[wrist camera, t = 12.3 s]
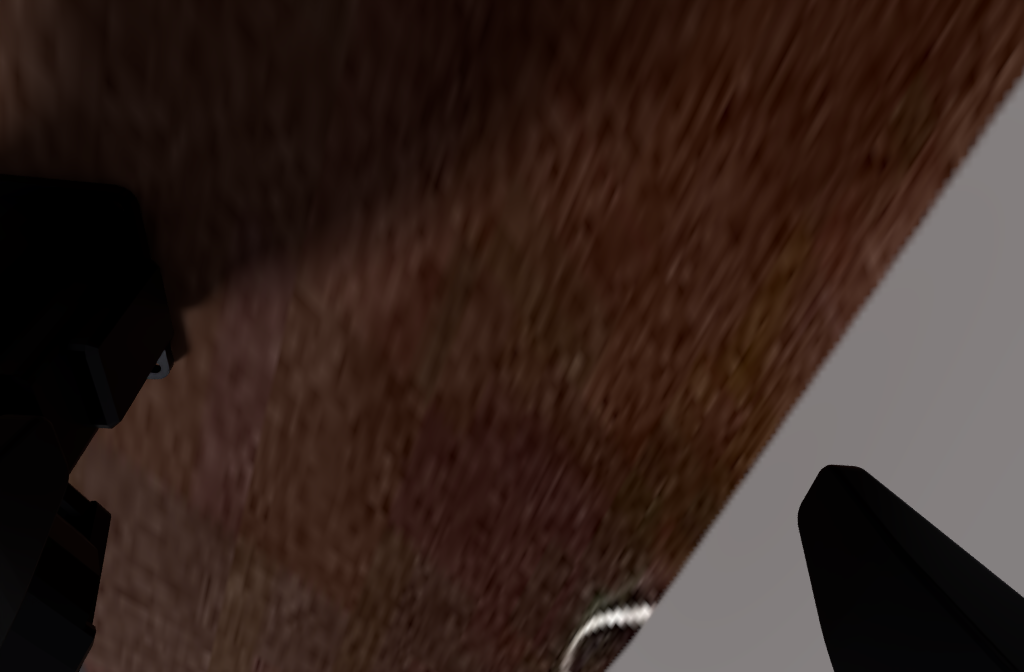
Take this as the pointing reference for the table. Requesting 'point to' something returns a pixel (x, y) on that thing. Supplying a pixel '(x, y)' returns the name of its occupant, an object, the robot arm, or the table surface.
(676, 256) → the table surface
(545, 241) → the table surface
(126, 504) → the table surface
